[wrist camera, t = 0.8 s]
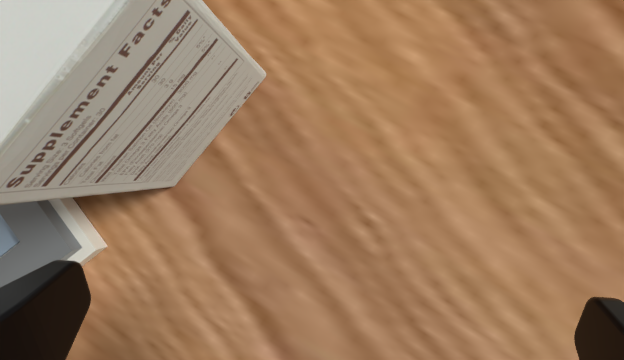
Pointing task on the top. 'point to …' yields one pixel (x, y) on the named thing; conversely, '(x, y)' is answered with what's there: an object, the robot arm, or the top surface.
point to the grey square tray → (44, 236)
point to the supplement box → (112, 94)
